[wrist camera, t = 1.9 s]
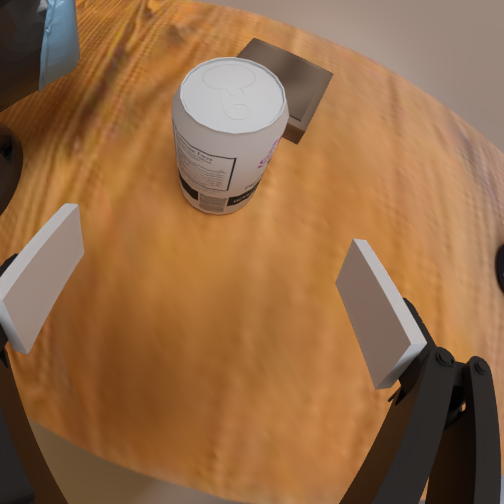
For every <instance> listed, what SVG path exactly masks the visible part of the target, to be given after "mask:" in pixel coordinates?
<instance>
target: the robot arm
mask: <svg viewBox="0 0 504 504" xmlns="http://www.w3.org/2000/svg"><path fill="white" fill-rule="evenodd" d="M79 58H80V46H79V37H78V27H77V16H76V5H75V0H0V112H1V111H3V110H4V109H6V108H8V107H9V106H11V105H13V104H14V103H16V102H18V101H19V100H21V99H23V98H25V97H26V96H28V95H30V94H32V93H34V92H35V91H37V90H38V91H42V90H43V89H44V87H45V86H47V85H48V84H50V83H52V82H54V81H56V80H58V79H59V78H61V77H63V76H65V75H67V74H69V73H70V72H71V71H72V70H73V69H74V68H75V67H76V65H77V64H78V61H79ZM22 159H23V155H22V147H21V144H20V141H19V139H18V138H17V136H16V135H15V134H14V133H13V132H12V131H11V130H10V129H9V128H8V127H7V126H6V125H4V124H1V123H0V214H1V213H2V212H3V210H4V209H5V208H6V206H7V204H8V203H9V201H10V199H11V197H12V195H13V193H14V191H15V188H16V186H17V183H18V180H19V177H20V173H21V168H22ZM83 255H84V247H83V240H82V232H81V223H80V213H79V204H70V203H65V204H64V205H63V206H62V207H61V208H60V209H59V210H58V211H57V212H56V213H55V214H54V215H53V216H52V217H51V218H50V219H49V220H48V222H47V223H46V224H45V225H44V226H43V227H42V228H41V229H40V230H39V231H38V232H37V234H36V235H35V236H34V237H33V238H32V239H31V240H30V242H29V243H28V244H27V245H26V246H25V247H24V249H23V250H22V251H21V252H20V253H19V254H14V255H13V256H11V257H10V258H8V259H7V260H6V261H5V262H4V263H3V265H2V266H1V267H0V504H68V503H67V501H66V499H65V497H64V496H63V494H62V492H61V490H60V489H59V487H58V485H57V483H56V481H55V479H54V477H53V476H52V474H51V472H50V470H49V468H48V466H47V464H46V461H45V459H44V457H43V455H42V453H41V451H40V448H39V446H38V444H37V442H36V439H35V437H34V434H33V432H32V430H31V427H30V425H29V422H28V419H27V416H26V414H25V411H24V408H23V405H22V402H21V399H20V396H19V393H18V390H17V387H16V383H15V380H14V376H13V373H12V369H11V365H10V361H9V357H8V353H7V351H6V349H5V345H6V343H7V341H9V343H10V344H11V346H12V348H13V350H15V351H18V352H21V353H24V354H27V355H29V352H30V350H31V348H32V346H33V344H34V342H35V340H36V338H37V336H38V334H39V332H40V330H41V328H42V326H43V324H44V322H45V320H46V318H47V316H48V314H49V312H50V311H51V309H52V307H53V305H54V303H55V301H56V300H57V298H58V296H59V294H60V293H61V291H62V289H63V287H64V286H65V284H66V282H67V281H68V279H69V277H70V276H71V274H72V272H73V271H74V269H75V267H76V266H77V264H78V263H79V261H80V259H81V258H82V256H83ZM335 283H336V286H337V288H338V291H339V293H340V296H341V298H342V301H343V303H344V306H345V308H346V311H347V313H348V316H349V318H350V321H351V324H352V326H353V329H354V331H355V334H356V337H357V339H358V342H359V345H360V348H361V350H362V353H363V356H364V359H365V361H366V364H367V367H368V370H369V373H370V376H371V378H372V381H373V384H374V387H375V389H383V388H391V387H392V386H393V385H394V383H395V382H396V381H397V380H398V379H399V381H400V384H401V386H400V387H399V389H398V390H397V391H396V392H395V393H394V394H393V395H392V396H391V397H390V398H389V400H388V402H390V401H391V400H392V399H393V402H392V404H391V406H390V409H389V411H388V413H387V415H386V418H385V420H384V422H383V424H382V426H381V429H380V431H379V433H378V435H377V437H376V439H375V441H374V443H373V445H372V447H371V449H370V451H369V453H368V455H367V457H366V459H365V460H364V462H363V464H362V466H361V468H360V470H359V471H358V473H357V475H356V477H355V478H354V480H353V482H352V483H351V485H350V487H349V488H348V490H347V492H346V493H345V495H344V497H343V498H342V500H341V501H340V503H339V504H418V503H419V501H420V498H421V496H422V493H423V491H424V488H425V485H426V483H427V480H428V477H429V481H428V488H427V495H426V501H425V504H500V491H501V451H500V434H499V423H498V413H497V405H496V398H495V391H494V385H493V379H492V374H491V370H490V367H489V365H488V364H487V362H486V361H485V360H484V359H482V358H480V357H478V356H473V357H471V358H470V360H469V361H468V362H467V363H466V364H465V363H461V362H457V361H455V359H454V357H453V356H452V354H451V353H450V352H449V351H447V350H446V349H444V348H442V347H436V345H435V343H434V341H433V339H432V337H431V336H430V334H429V332H428V330H427V328H426V327H425V325H424V323H422V322H423V321H422V319H421V318H420V316H418V315H419V314H418V313H417V311H416V309H415V307H414V306H413V305H412V304H411V303H410V302H409V301H408V300H407V299H406V298H402V297H401V295H400V293H399V292H398V290H397V288H396V287H395V285H394V283H393V282H392V280H391V278H390V277H389V275H388V273H387V272H386V270H385V269H384V267H383V265H382V264H381V262H380V261H379V259H378V258H377V256H376V254H375V253H374V251H373V250H372V248H371V247H370V245H369V244H368V242H367V241H366V240H360V239H354V238H353V240H352V243H351V245H350V248H349V250H348V253H347V255H346V258H345V260H344V263H343V265H342V268H341V270H340V273H339V275H338V277H337V280H336V282H335ZM464 403H465V404H466V407H465V410H464V411H462V405H463V404H464Z"/></svg>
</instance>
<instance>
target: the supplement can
mask: <svg viewBox="0 0 504 504" xmlns="http://www.w3.org/2000/svg"><path fill="white" fill-rule="evenodd" d="M288 118H289V112H288V105H287V100H286V97H285V91H284V87H283V86H282V84H281V83H280V81H279V79H278V78H277V76H276V75H274V74H273V73H272V72H271V71H270V70H268V69H267V68H266V67H264V66H262V65H260V64H258V63H256V62H253V61H251V60H247V59H242V58H236V57H226V58H215V59H212V60H209V61H206V62H203V63H201V64H199V65H198V66H196V67H195V68H194V69H192V70H191V71H190V72H189V73H188V74H187V76H186V77H185V79H184V80H183V82H182V83H181V85H180V86H179V88H178V90H177V91H176V93H175V94H174V96H173V103H172V122H173V132H174V142H175V151H176V159H177V167H178V176H179V183H180V187H181V190H182V192H183V195H184V197H185V198H186V199H187V200H188V201H189V203H190V204H191V205H192V206H193V207H195V208H197V209H199V210H201V211H203V212H204V213H209V214H216V215H222V214H228V213H233V212H235V211H236V210H238V209H240V208H242V207H244V206H245V205H246V203H247V202H248V201H249V200H250V199H251V198H252V196H253V194H254V192H255V190H256V188H257V186H258V184H259V182H260V180H261V178H262V176H263V173H264V171H265V169H266V167H267V165H268V163H269V161H270V159H271V157H272V155H273V153H274V151H275V149H276V147H277V145H278V143H279V141H280V139H281V137H282V135H283V132H284V130H285V127H286V124H287V121H288Z"/></svg>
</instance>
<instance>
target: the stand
mask: <svg viewBox="0 0 504 504" xmlns="http://www.w3.org/2000/svg"><path fill="white" fill-rule="evenodd" d="M236 58H242V59H247V60H251V61H253V62H256V63H258V64H260V65H262V66H264V67H266V68H267V69H268V70H270V71H271V72H272V73H273V74H274V75H276V76H277V78H278V79H279V81H280V83H281V84H282V86H283V87H284V91H285V97H286V100H287V105H288V112H289V118H288V121H287V124H286V127H285V130H284V132H283V135H282V137H284V138H286V139H288V140H290V141H292V142H294V143H296V144H298V143H299V141H300V139H301V138H302V136H303V134H304V133H305V131H306V129H307V127H308V125H309V123H310V121H311V119H312V117H313V115H314V113H315V111H316V109H317V107H318V105H319V102H320V100H321V98H322V96H323V94H324V92H325V90H326V88H327V86H328V84H329V82H330V80H331V78H332V76H333V73H331V72H329V71H327V70H325V69H323V68H321V67H319V66H317V65H315V64H313V63H311V62H309V61H307V60H305V59H303V58H301V57H299V56H296V55H294V54H292V53H290V52H288V51H285V50H283V49H281V48H278V47H276V46H274V45H271V44H269V43H266V42H264V41H261V40H259V39H256V38H253V39H252V40H251V41H250V42H249V43H248V45H247V46H246V47H245V48H244V49H243V50H242V51H241V52H240V53H239V55H238V56H237V57H236Z"/></svg>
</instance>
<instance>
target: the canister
mask: <svg viewBox="0 0 504 504" xmlns="http://www.w3.org/2000/svg"><path fill="white" fill-rule="evenodd" d="M498 273H499V279H500V282H501V285H502V287H503V289H504V245H503V247H502V248H501V250H500V253H499V258H498Z"/></svg>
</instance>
